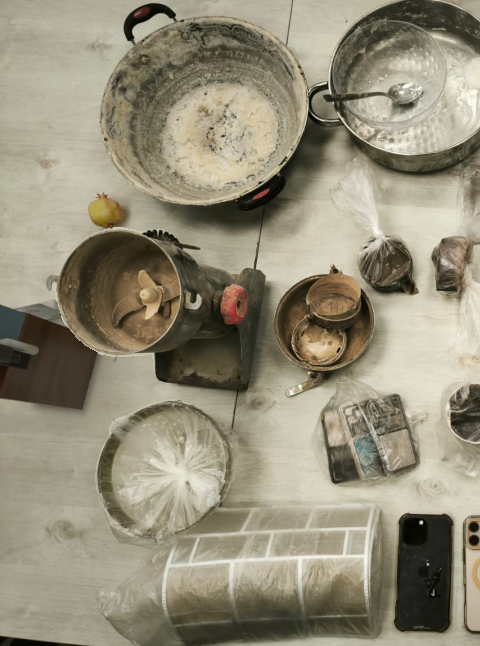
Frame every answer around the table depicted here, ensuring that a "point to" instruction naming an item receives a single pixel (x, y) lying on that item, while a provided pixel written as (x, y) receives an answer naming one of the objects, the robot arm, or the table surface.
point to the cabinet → (50, 367)
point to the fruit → (105, 212)
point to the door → (13, 330)
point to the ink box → (42, 309)
